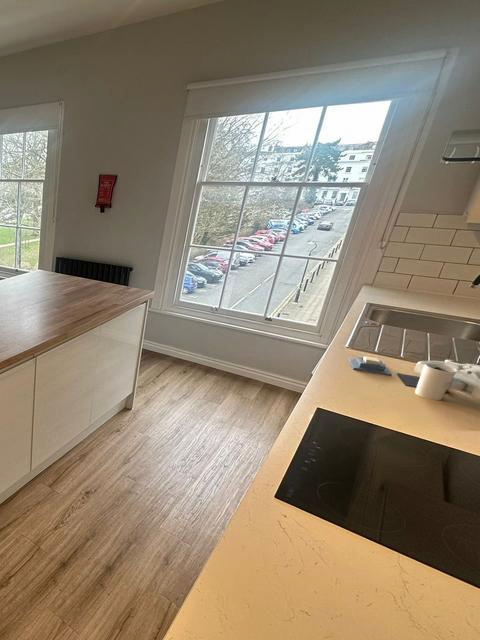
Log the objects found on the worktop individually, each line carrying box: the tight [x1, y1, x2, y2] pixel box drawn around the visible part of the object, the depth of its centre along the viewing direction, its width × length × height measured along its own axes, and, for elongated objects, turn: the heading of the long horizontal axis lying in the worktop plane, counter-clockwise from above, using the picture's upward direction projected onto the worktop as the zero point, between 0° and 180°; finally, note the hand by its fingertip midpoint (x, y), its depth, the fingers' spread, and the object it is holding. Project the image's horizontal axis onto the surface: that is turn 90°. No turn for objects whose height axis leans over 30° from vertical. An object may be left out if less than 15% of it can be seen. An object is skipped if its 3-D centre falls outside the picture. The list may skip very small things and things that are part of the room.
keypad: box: [347, 356, 393, 377], centre depth 145 cm, size 10×10×2 cm
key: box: [362, 355, 381, 365], centre depth 144 cm, size 4×4×2 cm
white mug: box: [414, 363, 457, 401], centre depth 124 cm, size 7×7×10 cm
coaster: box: [396, 372, 451, 395], centre depth 133 cm, size 10×10×1 cm
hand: (432, 380), depth 124 cm, fingers open, 4 cm apart
